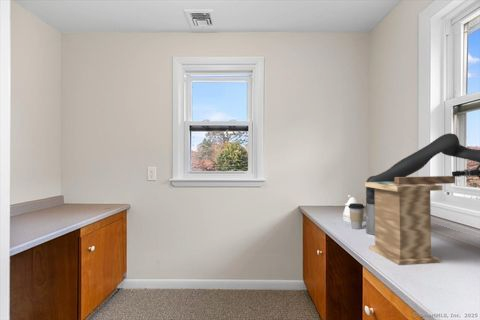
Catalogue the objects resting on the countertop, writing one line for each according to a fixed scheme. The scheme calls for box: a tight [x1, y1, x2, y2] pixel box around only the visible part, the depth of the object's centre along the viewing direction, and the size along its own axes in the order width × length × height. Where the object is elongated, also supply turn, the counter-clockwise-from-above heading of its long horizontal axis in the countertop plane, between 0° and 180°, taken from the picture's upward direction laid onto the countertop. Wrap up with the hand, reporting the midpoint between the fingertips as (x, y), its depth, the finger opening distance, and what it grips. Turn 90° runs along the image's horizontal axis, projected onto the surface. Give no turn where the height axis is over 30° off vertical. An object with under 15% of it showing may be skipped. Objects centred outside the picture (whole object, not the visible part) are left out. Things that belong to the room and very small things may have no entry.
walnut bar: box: [394, 175, 456, 185], centre depth 127 cm, size 26×3×3 cm, turn 97°
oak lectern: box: [364, 181, 443, 266], centre depth 132 cm, size 20×24×32 cm
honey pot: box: [342, 194, 364, 223], centre depth 206 cm, size 13×13×18 cm
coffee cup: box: [349, 202, 365, 230], centre depth 184 cm, size 9×9×15 cm
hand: (461, 173), depth 127 cm, fingers open, 8 cm apart
